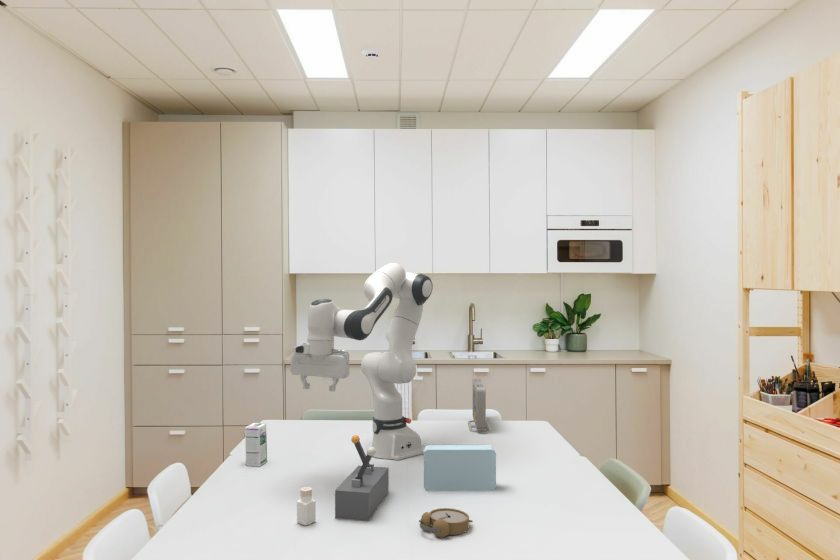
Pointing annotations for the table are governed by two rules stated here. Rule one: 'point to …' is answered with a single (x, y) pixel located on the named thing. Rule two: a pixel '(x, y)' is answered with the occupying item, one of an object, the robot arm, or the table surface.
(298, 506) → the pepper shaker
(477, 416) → the network device
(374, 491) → the switch box
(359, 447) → the orange lever
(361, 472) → the grey lever
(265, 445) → the syrup box
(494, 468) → the light blue rounded box
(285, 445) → the table surface
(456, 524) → the alarm clock
